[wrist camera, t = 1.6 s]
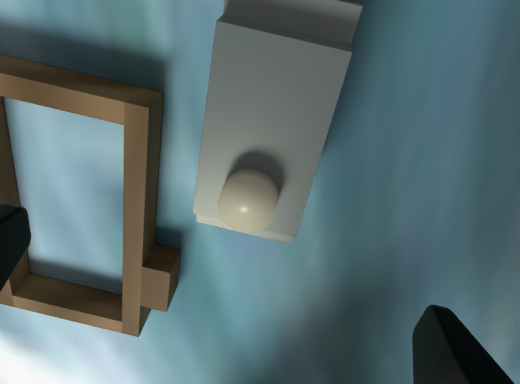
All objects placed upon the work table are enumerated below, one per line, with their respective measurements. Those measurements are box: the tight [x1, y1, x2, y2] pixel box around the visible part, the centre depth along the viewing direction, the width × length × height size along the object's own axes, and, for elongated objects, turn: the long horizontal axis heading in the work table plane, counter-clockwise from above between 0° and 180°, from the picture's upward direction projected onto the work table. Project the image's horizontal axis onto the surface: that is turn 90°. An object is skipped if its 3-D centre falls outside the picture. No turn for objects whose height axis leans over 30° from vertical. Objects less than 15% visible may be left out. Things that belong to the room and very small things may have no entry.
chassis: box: [0, 54, 181, 337], centre depth 21 cm, size 10×14×2 cm
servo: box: [193, 0, 363, 244], centre depth 15 cm, size 4×9×6 cm, turn 169°
